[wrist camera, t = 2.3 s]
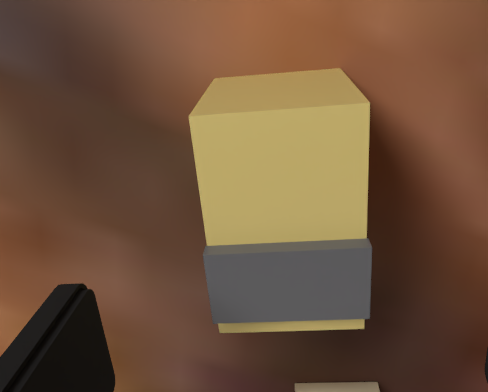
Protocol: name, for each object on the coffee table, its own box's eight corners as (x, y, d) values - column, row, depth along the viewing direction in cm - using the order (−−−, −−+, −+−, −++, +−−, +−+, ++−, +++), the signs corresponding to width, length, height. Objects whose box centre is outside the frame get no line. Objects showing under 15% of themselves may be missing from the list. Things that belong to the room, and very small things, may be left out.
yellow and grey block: (213, 78, 16) (183, 121, 11) (341, 67, 16) (376, 107, 10) (232, 244, 19) (216, 344, 14) (341, 238, 19) (369, 340, 13)
